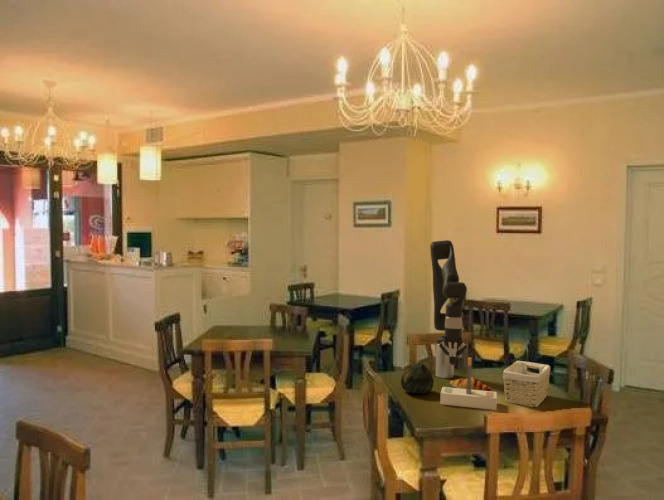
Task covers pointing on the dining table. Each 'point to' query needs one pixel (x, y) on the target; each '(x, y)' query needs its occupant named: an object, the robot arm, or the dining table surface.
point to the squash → (417, 379)
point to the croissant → (474, 384)
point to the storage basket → (526, 383)
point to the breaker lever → (469, 374)
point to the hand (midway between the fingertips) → (452, 364)
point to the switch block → (468, 398)
